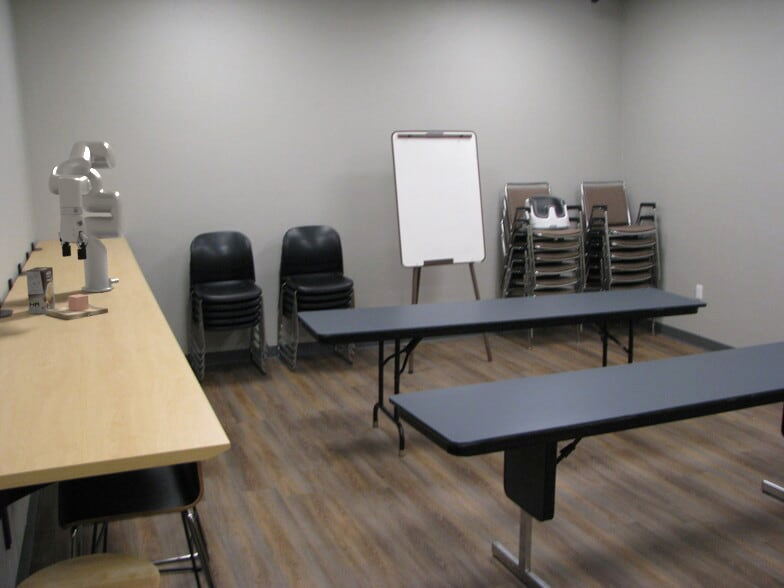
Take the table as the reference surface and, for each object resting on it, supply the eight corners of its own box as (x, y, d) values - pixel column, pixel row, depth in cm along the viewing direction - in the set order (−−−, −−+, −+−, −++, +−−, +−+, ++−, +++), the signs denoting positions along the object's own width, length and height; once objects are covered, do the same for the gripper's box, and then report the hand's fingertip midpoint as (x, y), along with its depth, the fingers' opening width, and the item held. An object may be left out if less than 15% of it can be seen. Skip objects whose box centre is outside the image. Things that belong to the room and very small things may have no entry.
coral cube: (80, 306, 278) (80, 293, 277) (88, 308, 275) (88, 295, 274) (68, 309, 274) (67, 295, 273) (76, 311, 271) (75, 297, 270)
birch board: (86, 306, 285) (86, 303, 284) (108, 312, 277) (107, 308, 277) (47, 314, 272) (46, 310, 272) (68, 319, 264) (68, 315, 264)
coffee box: (46, 313, 272) (43, 271, 269) (28, 313, 272) (25, 270, 268) (55, 308, 281) (52, 266, 278) (38, 308, 281) (35, 266, 277)
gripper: (94, 212, 265) (97, 259, 269) (67, 208, 275) (70, 254, 278) (75, 214, 259) (78, 262, 263) (48, 210, 269) (51, 256, 272)
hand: (74, 257), depth 271 cm, fingers open, 9 cm apart
